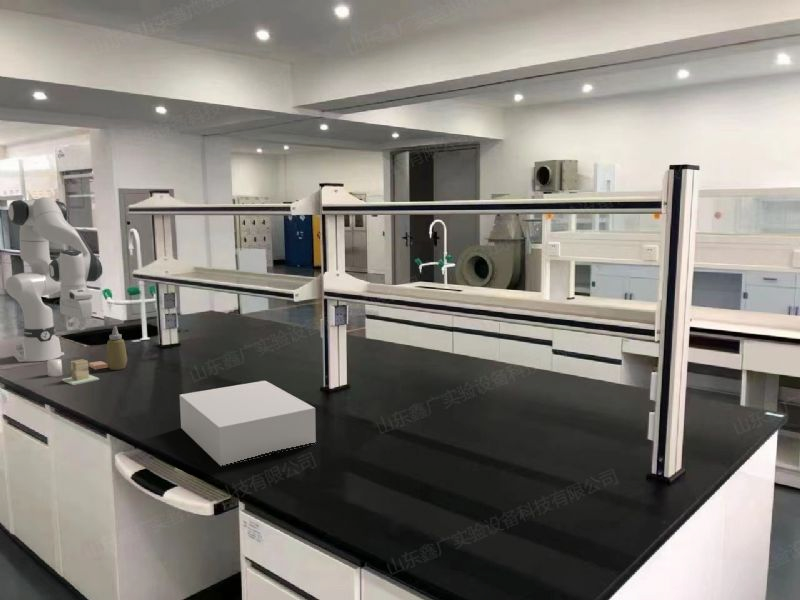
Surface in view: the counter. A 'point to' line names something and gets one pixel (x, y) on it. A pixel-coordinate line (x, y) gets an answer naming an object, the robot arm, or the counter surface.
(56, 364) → the white rounded dome
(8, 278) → the robot arm
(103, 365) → the terracotta tile
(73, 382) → the mat
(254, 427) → the box
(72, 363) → the maple block
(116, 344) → the squeeze bottle
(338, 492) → the counter surface
